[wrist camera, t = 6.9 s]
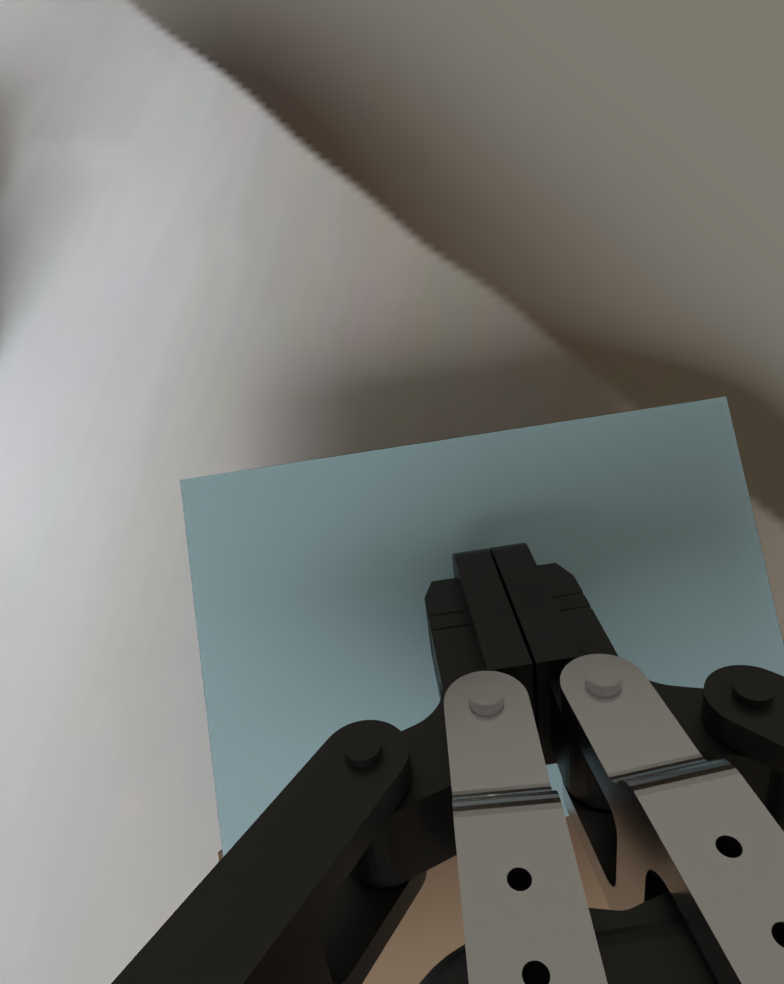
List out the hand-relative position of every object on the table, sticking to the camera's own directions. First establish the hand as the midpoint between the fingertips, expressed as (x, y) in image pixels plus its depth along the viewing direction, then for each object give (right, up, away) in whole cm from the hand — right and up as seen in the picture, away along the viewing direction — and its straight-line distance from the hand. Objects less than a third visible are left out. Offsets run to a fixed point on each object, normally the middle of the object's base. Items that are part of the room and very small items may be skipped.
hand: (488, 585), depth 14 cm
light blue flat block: (+1, -5, +1) cm, 5 cm away
